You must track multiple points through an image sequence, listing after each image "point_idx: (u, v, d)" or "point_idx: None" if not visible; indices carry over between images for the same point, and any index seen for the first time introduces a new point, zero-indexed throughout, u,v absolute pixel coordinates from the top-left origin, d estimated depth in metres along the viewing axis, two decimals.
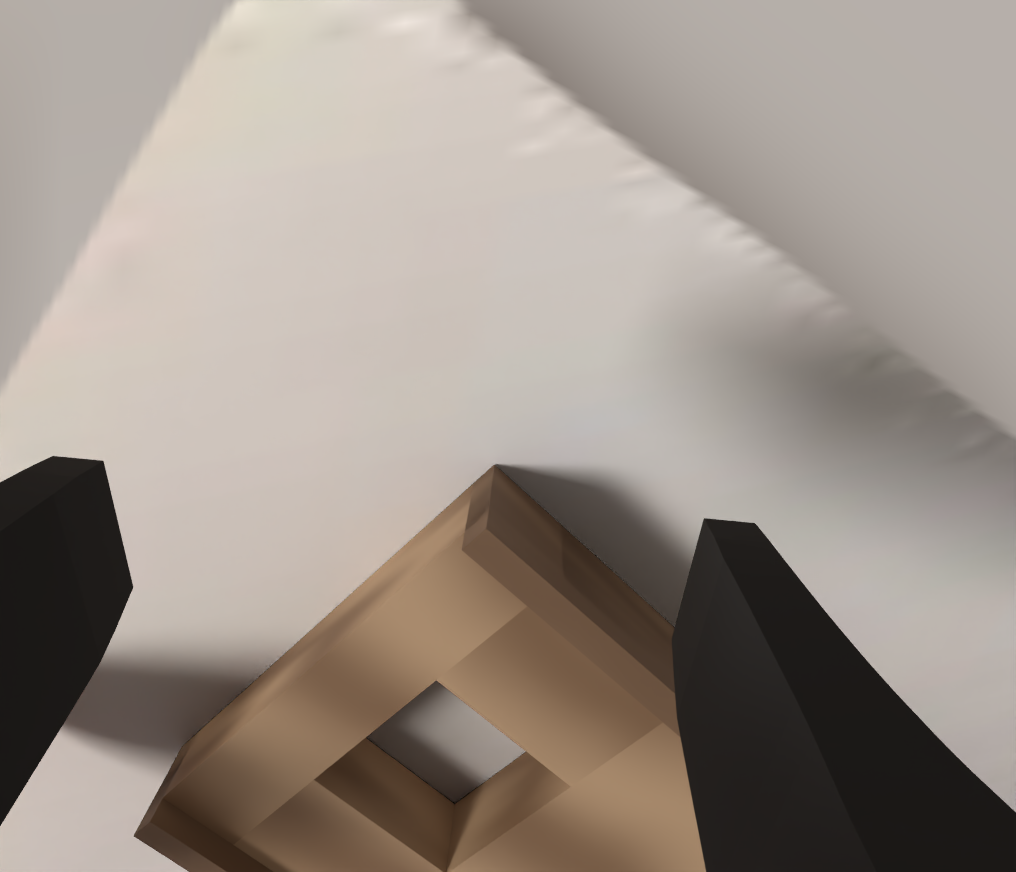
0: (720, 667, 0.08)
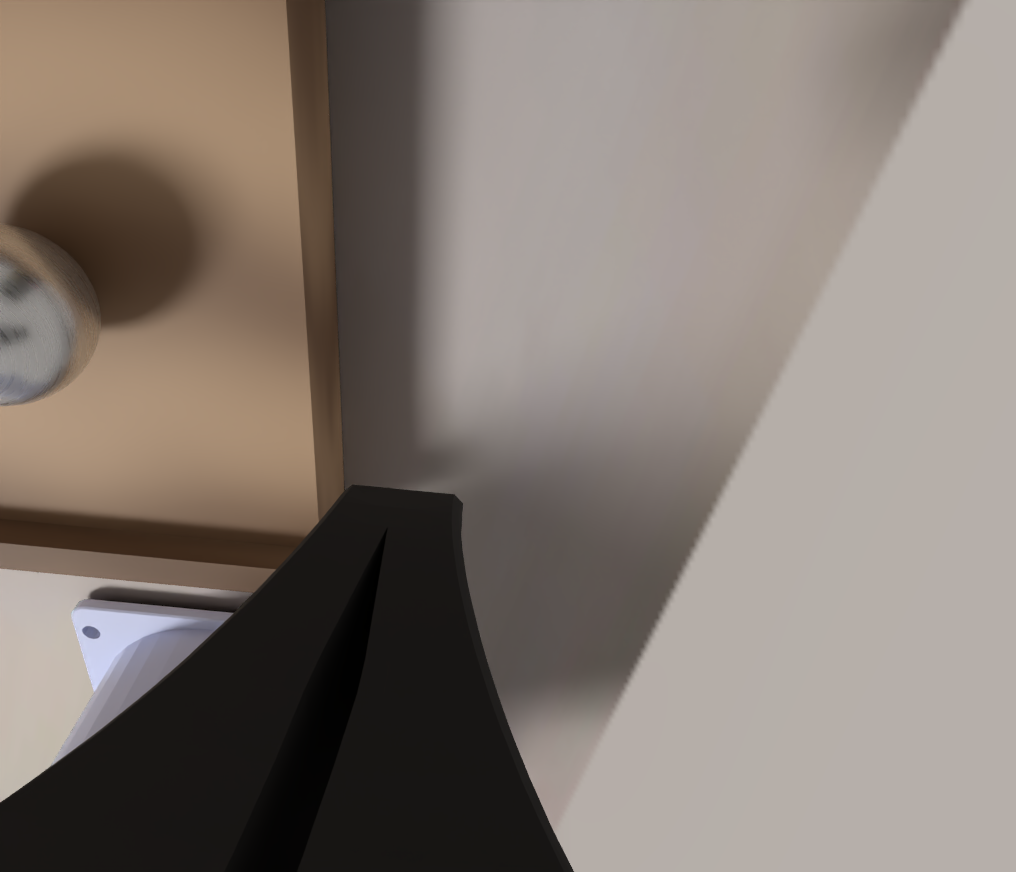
0: None
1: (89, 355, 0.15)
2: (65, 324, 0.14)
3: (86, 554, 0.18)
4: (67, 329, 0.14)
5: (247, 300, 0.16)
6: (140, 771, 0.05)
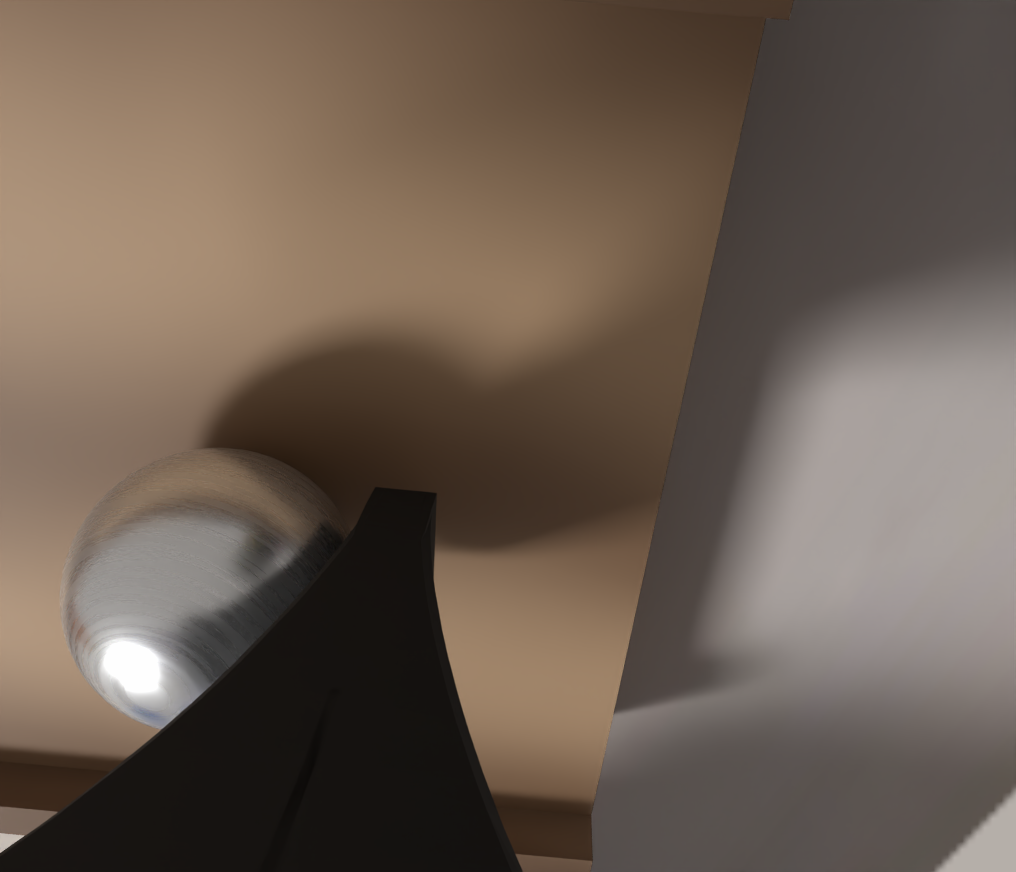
0: None
1: None
2: None
3: None
4: None
5: (567, 532, 0.11)
6: (198, 775, 0.05)
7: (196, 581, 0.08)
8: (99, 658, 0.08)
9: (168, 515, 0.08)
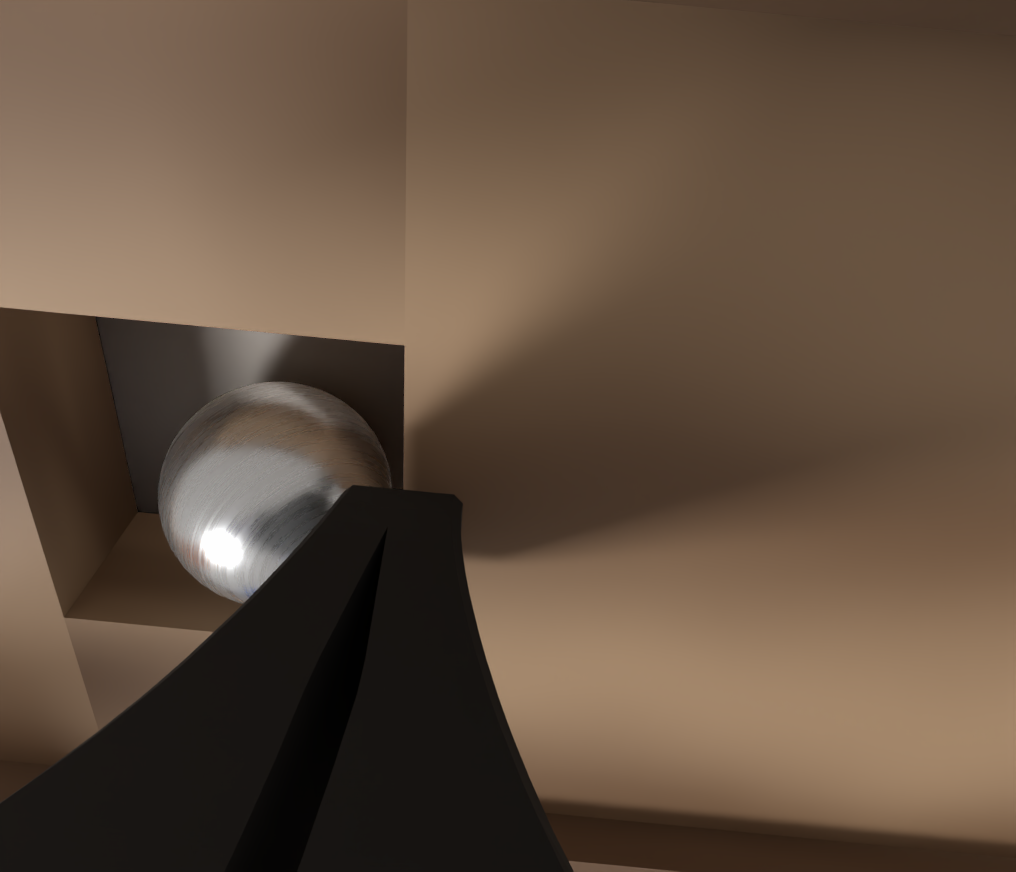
0: None
1: None
2: None
3: None
4: None
5: None
6: (141, 770, 0.05)
7: (337, 475, 0.11)
8: None
9: (286, 446, 0.10)
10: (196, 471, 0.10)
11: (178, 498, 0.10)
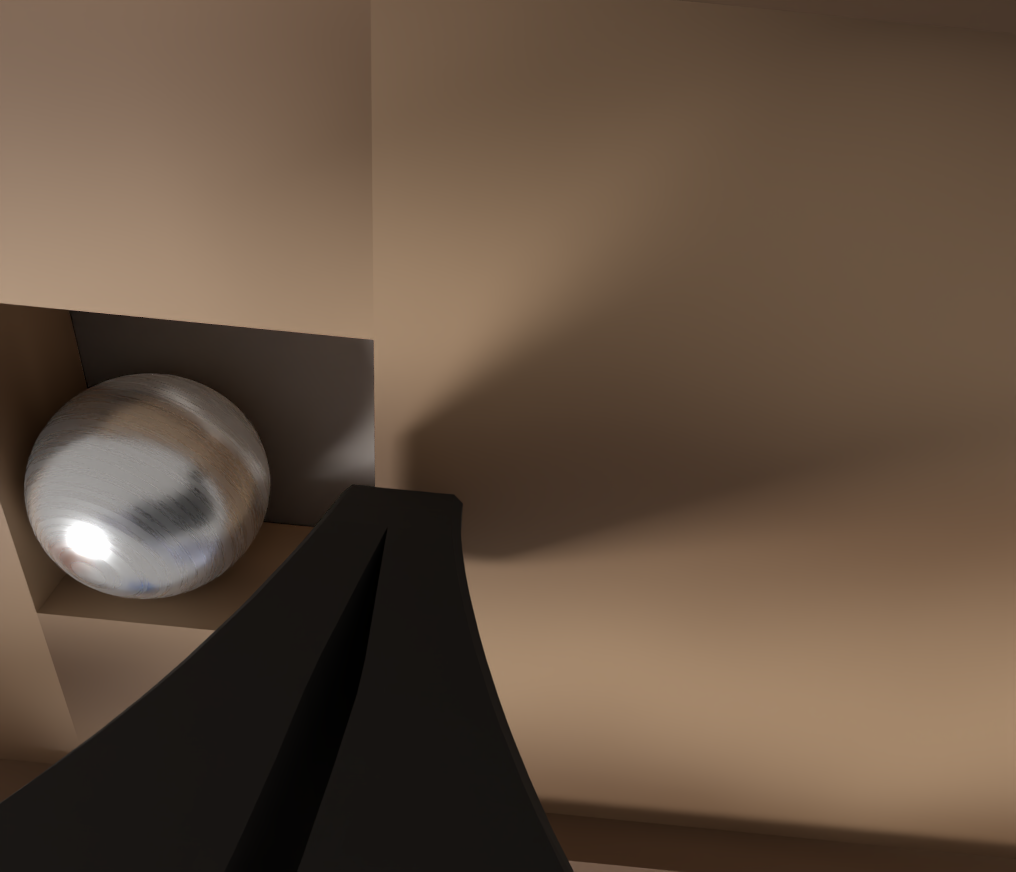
0: None
1: (258, 527, 0.12)
2: (223, 516, 0.11)
3: None
4: (226, 520, 0.11)
5: None
6: (140, 769, 0.05)
7: (102, 491, 0.10)
8: (50, 548, 0.11)
9: (80, 440, 0.10)
10: (46, 424, 0.11)
11: None
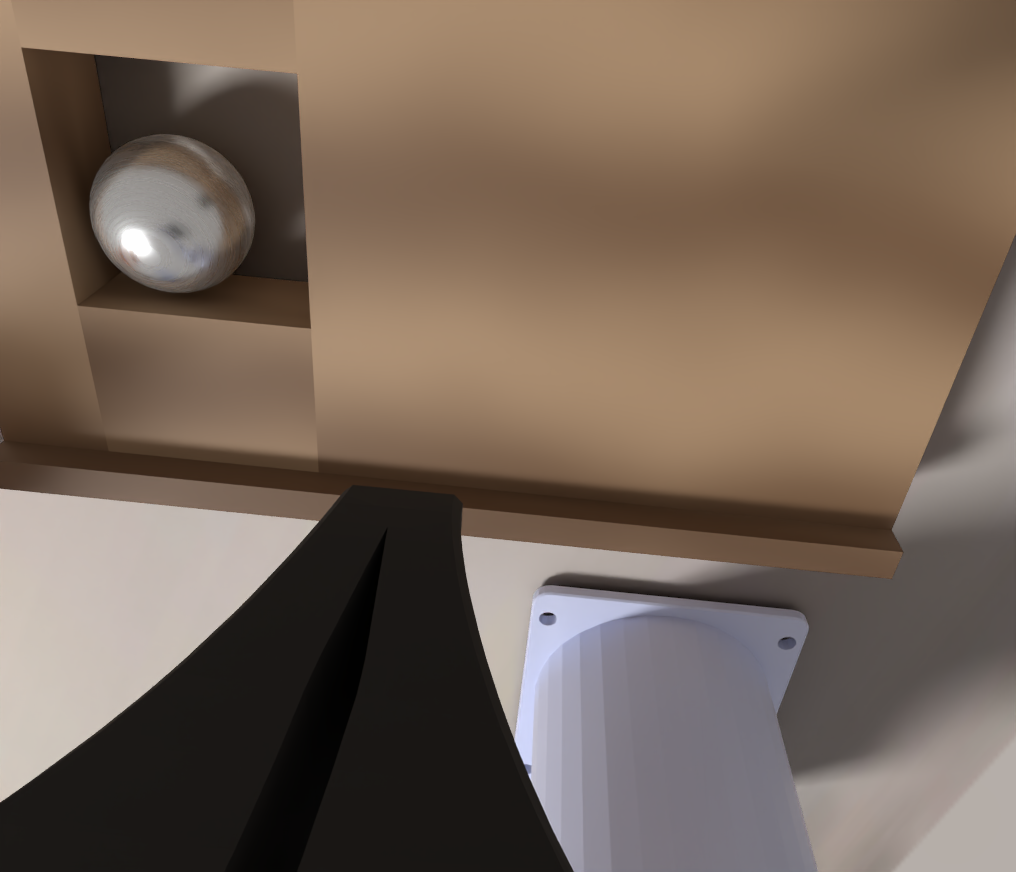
0: None
1: (251, 241, 0.17)
2: (234, 217, 0.16)
3: (674, 532, 0.18)
4: (236, 221, 0.17)
5: (939, 273, 0.16)
6: (139, 769, 0.05)
7: (158, 190, 0.15)
8: (119, 241, 0.16)
9: (137, 161, 0.16)
10: (101, 166, 0.16)
11: None
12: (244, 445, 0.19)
